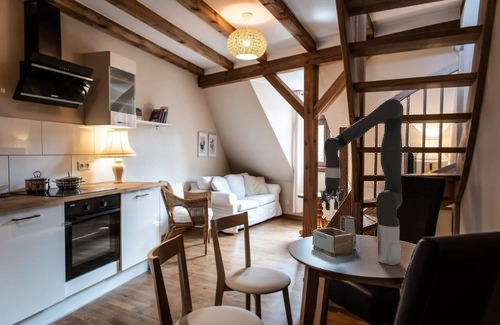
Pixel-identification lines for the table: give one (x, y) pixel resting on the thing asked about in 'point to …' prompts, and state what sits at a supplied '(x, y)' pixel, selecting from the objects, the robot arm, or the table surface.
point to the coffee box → (349, 226)
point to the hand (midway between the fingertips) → (331, 209)
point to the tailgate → (323, 241)
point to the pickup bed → (338, 242)
